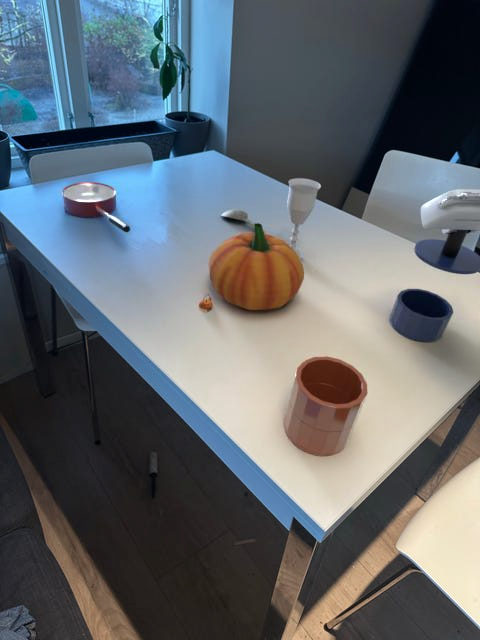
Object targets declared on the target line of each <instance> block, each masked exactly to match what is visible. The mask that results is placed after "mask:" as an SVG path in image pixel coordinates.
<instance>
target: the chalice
mask: <svg viewBox="0 0 480 640" xmlns="http://www.w3.org/2000/svg"><path fill="white" fill-rule="evenodd" d="M321 186H322V185H321V184H320V183H319V182H318V181H315V180H313V179H309V178H302V177H301V178H299V177H296V178H291V179H289V180H288V187H289V189H288V195H287V201H286V205H287V206H286V207H287V212H288V215H289V218H290V222H291V223H292V224H294V225H293V229H292V230H291V232H292V236H291V237H290V238H289V239H290V245H289V246H290V247H291V248H292V249H293V250H294V251H295V252H296V254H297V255H298V257H299V259H300V261H302V258H301V253H300V250H299V248H298V247H297V246H296V242H297V241H298V240H299V239H298V237H297V236H298V234H299V233H300V231H299V226H300V225H304V223H305V222H306V221H307V219H308V218H309V217H310V216H311V214H312V212H313V210H314V209H315V206H316V205H315V204H316V200H317V196H318V192H319V190H320V189H321Z"/></svg>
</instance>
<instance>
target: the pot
mask: <svg viewBox="0 0 480 640" xmlns="http://www.w3.org/2000/svg"><path fill="white" fill-rule="evenodd" d="M367 396H368V383H367V381H366V380H365V377H364V376H363V374H362V373H361V372H360V371H359V370H358V369H357V368H356V367H355V366H353V365H352V364H350V363H348V362H346V361H344V360H342V359H340V358H336V357H331V356H327V355H325V356H313V357H311V358H310V357H309V358H308V359H305V360H303V361H302V363H300V364H299V365H298V367H297V368H296V371H295V374H294V378H293V383H292V386H291V391H290V394H289V400H288V403H287V407H286V412H285V416H284V422H283V426H284V431H285V434H286V436H287V438H288V439H289V441H290V442H291V443H292V444H293V445H294V446H295V447H296V448H297V449H299V450H301V451H303V452H304V453H307V454H309V455H313V456H316V457H317V456H318V457H329V456H333V455H337V454H338V453H340V452H341V451H343V450H344V449H345V448H346V447H347V444H348V442H349V441H350V439H351V436H352V434H353V431H354V428H355V426H356V424H357V421H358V418H359V416H360V414H361V411H362V408H363V406H364V403H365V401H366V398H367Z"/></svg>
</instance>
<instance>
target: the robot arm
mask: <svg viewBox="0 0 480 640" xmlns="http://www.w3.org/2000/svg"><path fill="white" fill-rule="evenodd" d="M420 220H421V225H422V227H423V229H425V230H441V232H442V234H443V235H448V234H453V233H455V232H457V230H468V232H467V234H466V235H475V234H477V233H480V189H471V188H469V189H468V188H459V189H457V188H456V189H453V190H449V191H447V192H444V193H442V194H440V195H438V196H436V197H434V198H432V199H431V200H429V201H427V202H425V203H423V204H422V205H421V207H420Z"/></svg>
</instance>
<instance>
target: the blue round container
mask: <svg viewBox="0 0 480 640" xmlns="http://www.w3.org/2000/svg"><path fill="white" fill-rule="evenodd" d="M453 314H454V309H453V306H452V305H451V304H450V303H449V301H448V300H447V299H445V298H444V297H442V296H441V295H439V294H437V293H435V292H432V291H430V290H427V289H421V288H406V289H403V290H401V291H400V292H399V293H398V294H397V296H396V299H395V301H394V303H393V306H392V309H391V312H390V315H389V323H390V325H391V327H392V328H393V329H394V330H395V332H397V333H398V334H400V335H401V336H403V337H404V338H407V339H409V340H411V341H415V342H419V343H435V342H437V341H439V340H440V339H441V338H442V337H443V334H444V333H445V331H446V329H447V327H448V325H449V322H450V321H451V319H452V317H453Z"/></svg>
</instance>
